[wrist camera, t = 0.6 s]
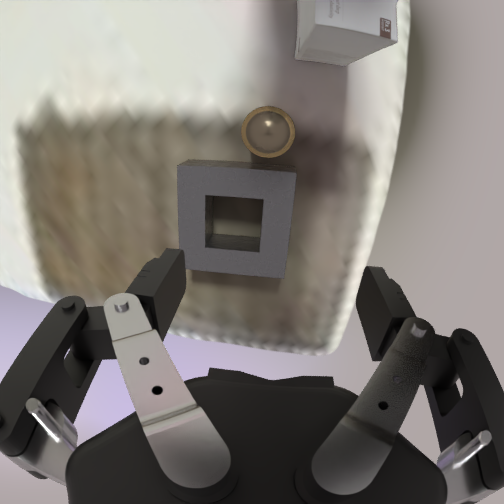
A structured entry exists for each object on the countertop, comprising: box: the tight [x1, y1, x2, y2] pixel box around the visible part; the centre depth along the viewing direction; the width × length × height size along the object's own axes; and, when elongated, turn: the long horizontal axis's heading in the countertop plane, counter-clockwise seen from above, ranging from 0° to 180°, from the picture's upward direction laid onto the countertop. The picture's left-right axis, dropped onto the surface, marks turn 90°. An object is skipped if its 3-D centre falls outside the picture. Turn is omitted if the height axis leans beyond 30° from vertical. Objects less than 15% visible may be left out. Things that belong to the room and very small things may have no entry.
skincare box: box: [295, 0, 398, 66], centre depth 17 cm, size 8×6×15 cm
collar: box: [177, 160, 297, 279], centre depth 32 cm, size 12×12×4 cm
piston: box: [241, 106, 295, 158], centre depth 26 cm, size 4×4×8 cm
